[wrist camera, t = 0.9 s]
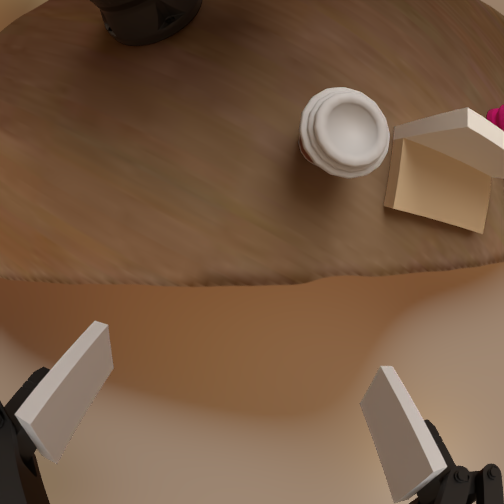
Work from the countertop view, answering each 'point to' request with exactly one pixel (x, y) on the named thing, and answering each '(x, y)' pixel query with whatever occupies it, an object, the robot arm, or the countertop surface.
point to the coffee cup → (343, 133)
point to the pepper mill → (497, 117)
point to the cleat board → (446, 167)
